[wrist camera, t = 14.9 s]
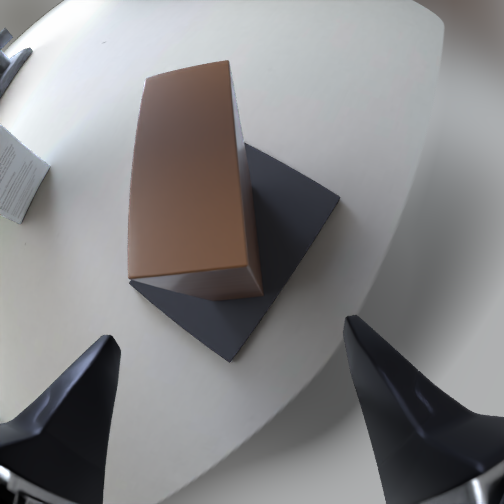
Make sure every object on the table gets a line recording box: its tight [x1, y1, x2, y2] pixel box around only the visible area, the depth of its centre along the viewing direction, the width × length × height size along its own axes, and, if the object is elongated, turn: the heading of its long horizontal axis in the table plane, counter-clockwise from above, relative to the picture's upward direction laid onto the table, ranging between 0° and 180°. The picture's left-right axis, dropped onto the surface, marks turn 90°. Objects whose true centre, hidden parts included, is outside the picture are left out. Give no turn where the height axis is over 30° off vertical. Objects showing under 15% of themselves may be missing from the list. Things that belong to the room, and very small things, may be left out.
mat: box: [129, 143, 340, 362], centre depth 17 cm, size 8×12×1 cm, turn 145°
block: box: [128, 60, 264, 301], centre depth 12 cm, size 7×3×10 cm, turn 6°
